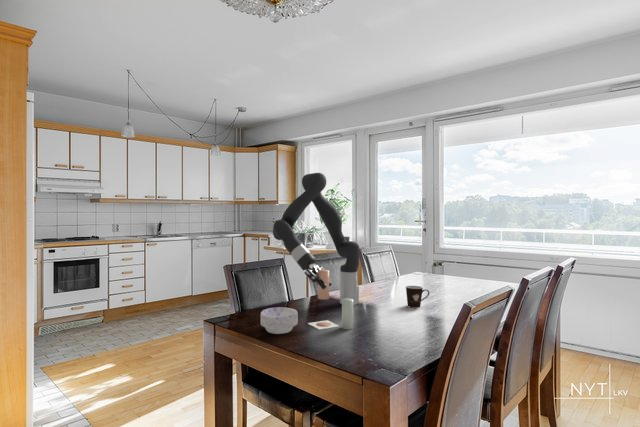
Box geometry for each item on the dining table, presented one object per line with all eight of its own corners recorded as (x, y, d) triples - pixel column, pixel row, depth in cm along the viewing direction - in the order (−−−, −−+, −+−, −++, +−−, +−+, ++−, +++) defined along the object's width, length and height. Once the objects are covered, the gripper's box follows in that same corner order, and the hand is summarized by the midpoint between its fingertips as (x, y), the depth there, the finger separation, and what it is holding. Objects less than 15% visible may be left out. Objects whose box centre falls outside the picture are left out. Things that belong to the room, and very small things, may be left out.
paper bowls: (282, 339, 153) (282, 318, 153) (252, 332, 161) (252, 312, 161) (304, 329, 166) (305, 310, 166) (276, 323, 174) (276, 305, 174)
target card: (327, 320, 179) (327, 319, 179) (339, 326, 170) (339, 325, 170) (307, 323, 174) (307, 322, 174) (319, 329, 165) (319, 328, 165)
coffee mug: (404, 307, 205) (404, 287, 205) (407, 303, 213) (407, 285, 213) (427, 309, 201) (427, 289, 201) (429, 305, 209) (429, 286, 209)
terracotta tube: (325, 296, 175) (325, 269, 175) (331, 298, 171) (331, 270, 171) (315, 297, 173) (316, 270, 173) (321, 299, 168) (321, 271, 168)
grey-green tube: (348, 325, 172) (349, 297, 172) (355, 328, 168) (355, 300, 167) (339, 327, 169) (339, 298, 169) (345, 330, 165) (346, 301, 165)
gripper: (301, 253, 168) (326, 284, 163) (315, 250, 181) (339, 278, 176) (289, 264, 171) (314, 295, 166) (305, 260, 184) (328, 289, 179)
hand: (327, 286), depth 171 cm, fingers closed on terracotta tube, 4 cm apart
